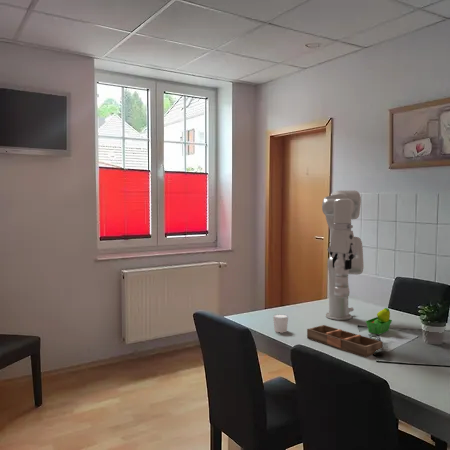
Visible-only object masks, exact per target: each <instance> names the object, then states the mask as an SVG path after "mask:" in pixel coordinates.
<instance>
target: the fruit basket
mask: <svg viewBox="0 0 450 450" xmlns="http://www.w3.org/2000/svg"><path fill="white" fill-rule="evenodd" d="M390 311H391V310H390V309H389V307H388V308H387V307H384V308H383V309H381V310H380V311H378V312H377V313H376V317H373V318H370V319H368V320H366V321H365V324H366V326H367V329H368V333H371V334H376V335H381V334H384V333H386V332H389V330H390V327H391V324H392V321H393V320H392V319H390V317H391V312H390Z"/></svg>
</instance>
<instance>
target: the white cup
mask: <svg viewBox="0 0 450 450" xmlns="http://www.w3.org/2000/svg"><path fill="white" fill-rule="evenodd" d="M272 318H273V327H274V328H273V329H274V333H278V332H280V334H283V332H285V333H287V331H288V321H289V316H288V314H280V313H278V314H274V315H273V317H272Z"/></svg>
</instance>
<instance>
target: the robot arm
mask: <svg viewBox="0 0 450 450" xmlns="http://www.w3.org/2000/svg"><path fill="white" fill-rule="evenodd" d="M361 197H362V196H361V194H360V192H359V191H357V190H336V191H334V192H333V193H332V194H331V195H327V196H325V197H324V198H323V199H322V204H321V210H322V213H323V214H324V215H325V220H326V224H327V226H328V228H329V236H330V237H329V238H330V239H329V240H330V241H329V242H330V246H328V247H327V249H326V251H327V252H328V253H329V257H328V258H327V269H328V270H327V271H328V281H329V282H328V312H326V314H325V317H326V318H327V319H330V320H335V321H346V320H347V321H348V320H350V319H352V315H351V314H350V312H354V310H355V309H354V307H349V296H348V297H346V298H339V297H336V296H335V295H334V288H335V277H336V276H335V268H334V267H335V266H334V263H335V261H336V259H337V258H338V256H337V255H338V253H343V254H345V256H346V259H347V260H346V269H349V273H348V275H356V276H357V275H361V274H363V271H364V268H365V267H364V250H363V249H364V248H363V247H364V246H363V241H362V239H361V238H360V237H358V236H354V231H353V230H352V229H353V228H354V225H352V221H354V220H357V219H358V218H359V217H360V213H361V204H362V198H361Z"/></svg>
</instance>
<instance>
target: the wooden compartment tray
mask: <svg viewBox="0 0 450 450" xmlns="http://www.w3.org/2000/svg"><path fill="white" fill-rule="evenodd" d="M306 333H307V335H306V337H307V339H309V340H312V341H315V342H318V343H321V344H324V345H326V346H329V347H333V348H335V349H338V350H341V351H345V352H347V353H352V354H354V355H357V356H360V357H364V358H367V357H371V356H374V355H375V354H374V352H375V351H376V350H378V349H380V348H382V349H383V344H384V343H383V341H382V340H379V339H378V340H377V339H374V338H370V337H367V336H365V335H364V336H363V335H361V334H357V333H354V332H349V331H346V330H343V329H341V328H335V327H332V326H329V325H325V324H322V325H319V326H313V327H310V328H306ZM373 354H374V355H373Z"/></svg>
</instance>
